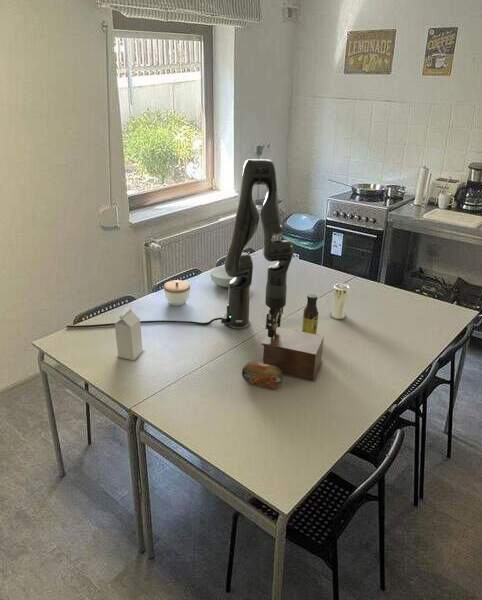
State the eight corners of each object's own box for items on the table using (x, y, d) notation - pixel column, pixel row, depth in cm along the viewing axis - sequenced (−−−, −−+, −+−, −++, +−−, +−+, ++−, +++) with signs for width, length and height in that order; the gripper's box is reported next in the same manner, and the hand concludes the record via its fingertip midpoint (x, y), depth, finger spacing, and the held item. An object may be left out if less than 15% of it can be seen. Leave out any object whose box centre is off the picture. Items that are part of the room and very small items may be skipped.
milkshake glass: (336, 320, 223) (340, 291, 216) (327, 314, 228) (330, 285, 222) (348, 317, 226) (352, 288, 219) (339, 311, 231) (342, 282, 225)
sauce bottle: (315, 342, 205) (319, 300, 196) (300, 341, 206) (304, 298, 197) (316, 335, 211) (320, 293, 202) (301, 333, 212) (305, 292, 203)
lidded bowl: (176, 294, 246) (175, 274, 241) (195, 301, 239) (195, 280, 234) (159, 303, 236) (157, 282, 231) (178, 310, 230) (178, 289, 225)
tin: (241, 382, 179) (241, 362, 176) (244, 377, 182) (244, 358, 178) (281, 391, 175) (282, 371, 171) (283, 386, 177) (284, 366, 174)
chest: (262, 369, 187) (263, 345, 182) (273, 351, 199) (274, 328, 194) (313, 381, 181) (315, 356, 176) (321, 361, 192) (323, 337, 188)
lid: (261, 344, 182) (262, 332, 180) (272, 327, 194) (273, 316, 192) (315, 356, 176) (316, 343, 173) (323, 337, 188) (325, 325, 185)
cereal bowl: (207, 289, 251) (207, 276, 248) (214, 276, 266) (213, 264, 263) (240, 292, 249) (240, 279, 246) (244, 279, 264) (245, 267, 260)
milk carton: (142, 351, 197) (139, 309, 189) (133, 360, 191) (130, 318, 183) (127, 348, 199) (123, 306, 191) (118, 357, 193) (113, 314, 185)
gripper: (272, 284, 186) (270, 321, 193) (260, 299, 174) (258, 338, 182) (291, 287, 184) (288, 325, 191) (280, 302, 172) (278, 342, 179)
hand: (274, 331), depth 186 cm, fingers open, 8 cm apart
